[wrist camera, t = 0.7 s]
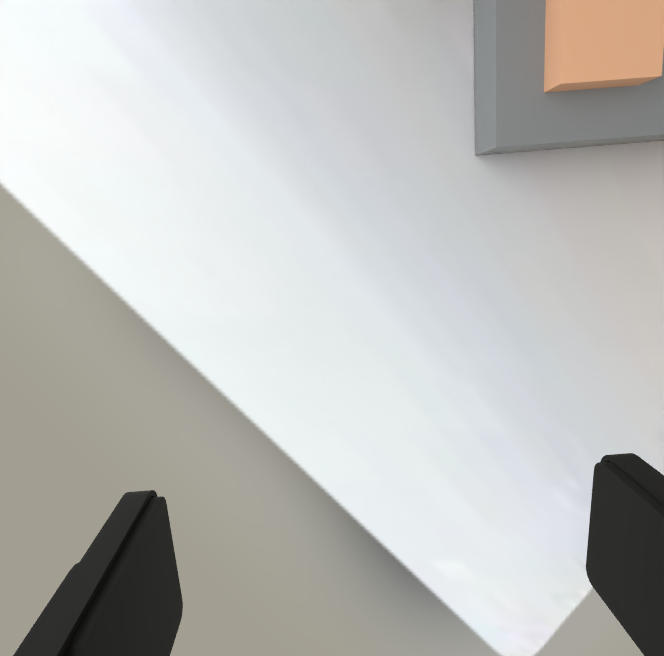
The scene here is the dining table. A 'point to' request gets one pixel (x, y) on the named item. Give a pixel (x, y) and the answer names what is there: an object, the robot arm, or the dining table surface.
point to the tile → (602, 43)
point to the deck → (550, 107)
